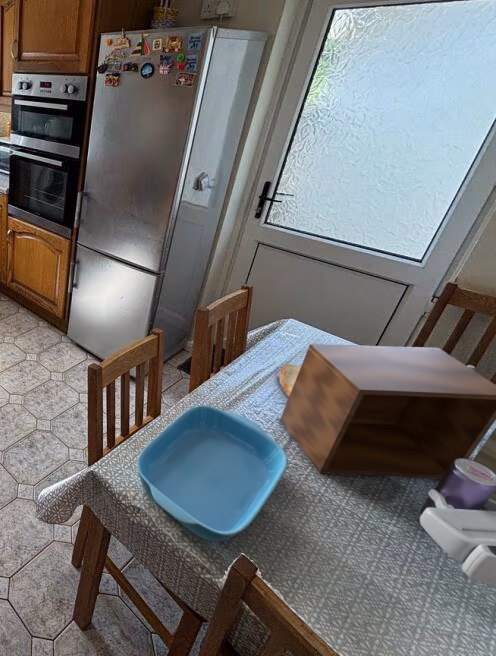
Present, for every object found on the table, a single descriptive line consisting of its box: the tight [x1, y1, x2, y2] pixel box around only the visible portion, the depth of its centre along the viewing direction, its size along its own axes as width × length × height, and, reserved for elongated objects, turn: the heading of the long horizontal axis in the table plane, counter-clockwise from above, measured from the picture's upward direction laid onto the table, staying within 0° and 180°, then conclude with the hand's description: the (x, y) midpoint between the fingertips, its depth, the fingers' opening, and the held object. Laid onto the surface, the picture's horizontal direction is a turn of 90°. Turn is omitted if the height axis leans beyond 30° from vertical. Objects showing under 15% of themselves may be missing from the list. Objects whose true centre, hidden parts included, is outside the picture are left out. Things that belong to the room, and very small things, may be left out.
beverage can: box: [419, 458, 496, 516], centre depth 78 cm, size 6×6×15 cm
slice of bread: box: [278, 363, 302, 398], centre depth 117 cm, size 18×18×4 cm
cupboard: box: [279, 343, 496, 480], centre depth 95 cm, size 16×28×24 cm, turn 85°
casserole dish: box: [136, 405, 289, 542], centre depth 91 cm, size 37×22×7 cm, turn 128°
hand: (453, 492), depth 79 cm, fingers closed on beverage can, 6 cm apart
